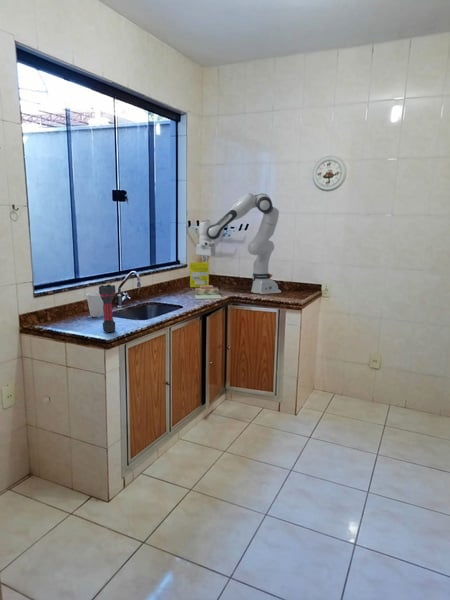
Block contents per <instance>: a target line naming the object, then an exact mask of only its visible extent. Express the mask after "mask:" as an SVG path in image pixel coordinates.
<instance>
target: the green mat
mask: <svg viewBox="0 0 450 600" xmlns="http://www.w3.org/2000/svg"><path fill="white" fill-rule="evenodd" d="M194 298H195V300H217V299H218V300H219V299H220V300H221V299H223V297H222V296H221V295H220V294H219V295H196V294H195V295H194Z"/></svg>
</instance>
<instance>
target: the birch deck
mask: <svg viewBox="0 0 450 600" xmlns="http://www.w3.org/2000/svg"><path fill="white" fill-rule="evenodd" d="M194 289H195V290H194V291H195V295H220V294H219V289H218V287H213V289H202V290H201V289H200V287H194Z"/></svg>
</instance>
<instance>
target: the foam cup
mask: <svg viewBox="0 0 450 600" xmlns="http://www.w3.org/2000/svg"><path fill="white" fill-rule="evenodd" d="M85 297H86V301H87V306H88V310H89V314H90V315H89V316H90V317H91V316H93V317H95V316H102V317H103V316H104V307H103V301H102V299H101V296H100V294H99V292H89V293H86V296H85Z"/></svg>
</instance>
